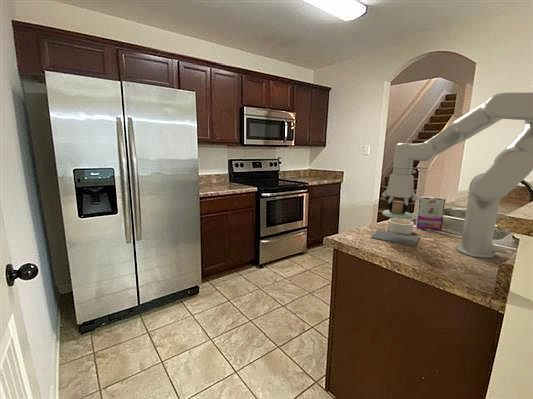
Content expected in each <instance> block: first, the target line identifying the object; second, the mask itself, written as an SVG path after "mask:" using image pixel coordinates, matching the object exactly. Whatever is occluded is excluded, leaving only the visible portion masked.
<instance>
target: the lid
mask: <svg viewBox="0 0 533 399" xmlns="http://www.w3.org/2000/svg"><path fill="white" fill-rule="evenodd" d="M404 205H405V201H398V200H395V201H394V200H392V209H391V212H389V209H384V210H383V211H382V216H384V217H387V218H390V219H394V218H397V219H406V220H410V219H412V217H413V214H412V213H410V212H409V211H407V212H406V213H405V214H403V207H404Z"/></svg>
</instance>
